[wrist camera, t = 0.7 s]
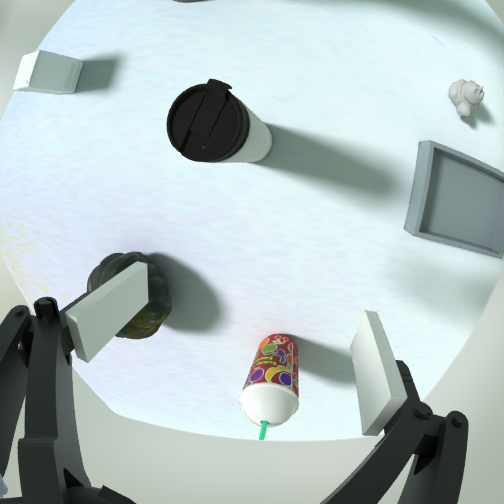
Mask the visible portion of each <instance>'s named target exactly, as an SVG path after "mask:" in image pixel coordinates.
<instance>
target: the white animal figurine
mask: <svg viewBox="0 0 504 504" xmlns="http://www.w3.org/2000/svg"><path fill="white" fill-rule="evenodd" d="M482 89H483V87H480V86H479V85H478V84H476V83H475V82H474V81H469V82H467V81H465V80H459V81H457V82H455V83H452V84H451V85H450V87H449V93H448V96H449V98H450V99H451V100H452V101H453V103H454V104H455V105H456V106H457V113H458V115H459V116H461V117H462V116H466V117H469V116H470V115H471V111H473V110H477V109H478V103H479V102H481V101H482V100H483V96H484V91H483V90H482Z"/></svg>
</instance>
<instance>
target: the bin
mask: <svg viewBox="0 0 504 504" xmlns="http://www.w3.org/2000/svg"><path fill="white" fill-rule="evenodd" d="M404 229H405V230H406V231H407V232H409V233H410V234H411V235H413V236H416V237H420V238H424V239H428V240H432V241H437V242H441V243H444V244H448V245H452V246H456V247H460V248H464V249H467V250H471V251H475V252H478V253H482V254H486V255H489V256H493V257H496V258H499V259H501V258H502V255H503V252H504V173H503V172H501V171H499V170H498V169H496V168H494V167H492V166H490V165H488V164H485V163H483V162H481V161H479V160H477V159H475V158H473V157H470V156H468V155H466V154H464V153H461V152H459V151H456V150H454V149H452V148H449V147H447V146H444V145H441V144H439V143H436V142H433V141H431V140H430V141H422V142H419V147H418V155H417V162H416V169H415V176H414V182H413V187H412V193H411V198H410V203H409V208H408V213H407V217H406V222H405V226H404Z"/></svg>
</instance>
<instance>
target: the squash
mask: <svg viewBox="0 0 504 504" xmlns="http://www.w3.org/2000/svg"><path fill="white" fill-rule="evenodd" d="M137 261H138V262H142V263H146V264H147V278H148V303H147V304H146V305H145V306H144V307H143V308H142V309H141V310H140V311H139V312H138V313H137V314H136V315H135V316H134V317H133V318H132V319H131V320H130V321H129V322H128V323H127V324H126V325H125V326H124V327H123V328H122V329H121V330H120V331H119V332H118V333H117V334H116V335H115V336H116V337H121V338H125V337H126V338H129V339H143V338H147V337H150V336H152V335H153V334H154V333H156V332H157V331H158V329H159V327H160V326H161V323H162V321H164V320H165V319H166V317H167V316H168V315H169V313H170V311H171V299H170V296H169V295H168V293H167V292H166V290H167V286H168V283H167V280H166V279H165V278H163V277H160V276H158V274H159V271H158V268H157V267H156V266H155V265H153V264H150V263H149V262H148V259H147V258H146V257H145V255H143V254H142V253H141V252H130V253H127V254H123V253H114V254H111V255H109V256H107V257H106V258H105V259H104V260H102V261H101V263H100V265H99V266H97V267H96V268H95V269H94V270H93V271H92V273H91V274H90V276H89V278H88V282H87V292H89V291H92V290H93V291H95V290H96V289H98V288H99V287H100V286H102V285H103V284H105V283H106V282H108V281H109V280H110V279H112V278H113V277H115V276H116V275H118V274H119V273H121V272H122V271H123V270H125V269H126V268H128V267H129V266H131V265H132V264H134V263H135V262H137Z"/></svg>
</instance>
